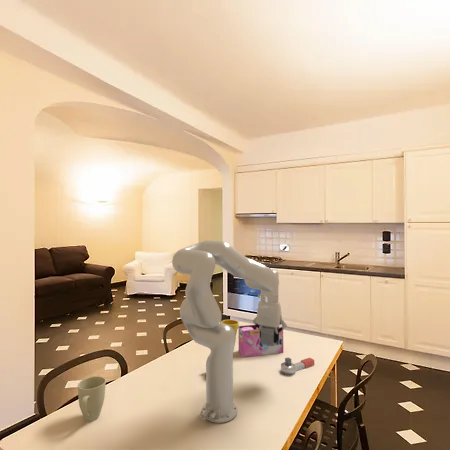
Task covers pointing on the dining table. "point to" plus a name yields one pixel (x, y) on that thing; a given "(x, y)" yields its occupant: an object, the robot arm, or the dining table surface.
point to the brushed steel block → (267, 335)
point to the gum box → (256, 342)
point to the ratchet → (295, 365)
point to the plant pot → (232, 324)
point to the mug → (91, 397)
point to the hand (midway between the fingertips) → (269, 340)
